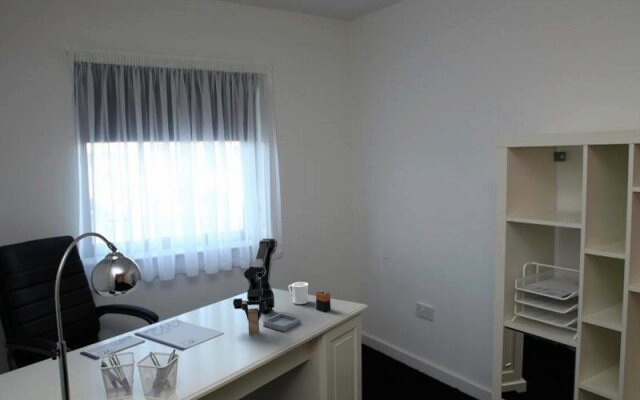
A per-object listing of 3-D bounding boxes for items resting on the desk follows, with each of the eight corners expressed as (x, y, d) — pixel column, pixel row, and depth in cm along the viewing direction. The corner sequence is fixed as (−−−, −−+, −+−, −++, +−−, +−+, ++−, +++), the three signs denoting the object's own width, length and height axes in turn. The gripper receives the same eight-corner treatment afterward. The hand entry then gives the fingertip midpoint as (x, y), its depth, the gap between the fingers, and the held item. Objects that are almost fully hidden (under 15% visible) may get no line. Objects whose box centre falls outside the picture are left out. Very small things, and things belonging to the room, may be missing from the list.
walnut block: (250, 331, 216) (249, 308, 215) (259, 331, 216) (258, 308, 215) (248, 335, 212) (248, 311, 211) (258, 334, 212) (257, 311, 211)
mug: (309, 300, 259) (309, 281, 257) (307, 305, 250) (307, 286, 249) (290, 299, 260) (289, 281, 259) (287, 305, 251) (286, 286, 250)
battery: (321, 307, 247) (321, 288, 245) (331, 310, 242) (330, 291, 241) (315, 309, 244) (315, 290, 242) (325, 312, 239) (324, 293, 238)
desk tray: (263, 326, 223) (263, 321, 222) (280, 317, 233) (280, 313, 232) (283, 331, 215) (283, 326, 215) (300, 323, 225) (300, 318, 225)
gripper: (232, 281, 215) (230, 313, 205) (273, 280, 216) (272, 312, 206) (235, 293, 224) (233, 324, 214) (274, 291, 224) (274, 322, 215)
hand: (253, 320), depth 212 cm, fingers closed on walnut block, 4 cm apart
